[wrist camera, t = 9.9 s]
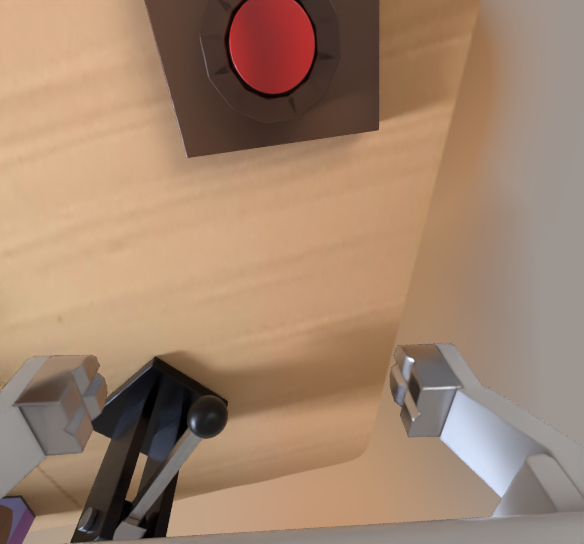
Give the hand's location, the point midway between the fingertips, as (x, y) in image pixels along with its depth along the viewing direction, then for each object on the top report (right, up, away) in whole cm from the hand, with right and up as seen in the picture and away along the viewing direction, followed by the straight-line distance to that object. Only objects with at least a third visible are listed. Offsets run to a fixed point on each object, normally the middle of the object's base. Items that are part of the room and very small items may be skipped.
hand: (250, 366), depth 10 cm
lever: (-9, -13, +19) cm, 24 cm away
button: (0, +14, +8) cm, 16 cm away
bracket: (-12, -11, +26) cm, 31 cm away
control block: (0, +16, +11) cm, 19 cm away
